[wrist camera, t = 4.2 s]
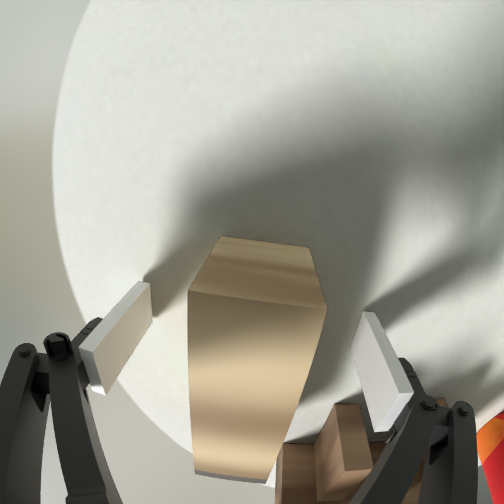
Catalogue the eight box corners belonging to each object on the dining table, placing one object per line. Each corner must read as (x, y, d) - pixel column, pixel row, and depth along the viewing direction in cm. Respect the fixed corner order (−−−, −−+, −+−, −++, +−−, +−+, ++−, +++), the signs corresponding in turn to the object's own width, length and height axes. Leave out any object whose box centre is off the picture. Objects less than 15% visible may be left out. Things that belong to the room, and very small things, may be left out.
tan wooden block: (220, 236, 15) (187, 289, 9) (308, 247, 14) (327, 309, 9) (210, 409, 19) (195, 473, 14) (269, 418, 19) (265, 483, 14)
